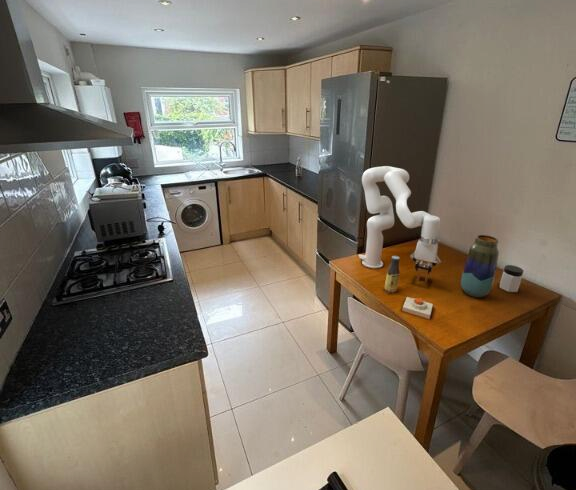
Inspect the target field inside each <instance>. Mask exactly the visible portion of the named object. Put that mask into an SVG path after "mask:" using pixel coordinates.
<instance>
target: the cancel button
mask: <svg viewBox="0 0 576 490" xmlns="http://www.w3.org/2000/svg"><path fill="white" fill-rule="evenodd" d="M423 301H424V299H423V298H421V297H415V303H416V304H418V305H422V304H423Z"/></svg>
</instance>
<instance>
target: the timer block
mask: <svg viewBox="0 0 576 490" xmlns="http://www.w3.org/2000/svg"><path fill="white" fill-rule="evenodd" d="M415 298H416V297H415ZM415 298H414V297H409V296H406V298H405V300H404V303H403V306H402V312H404V313H409V314H411V315H416V316H417V317H422V318H425V319H428V320H430V319H431V316H432V315H431V314H432V311H433V307H434V304H433V303H431V302H428V301H425V300H423V304H422V305H418V304H416V303H415Z"/></svg>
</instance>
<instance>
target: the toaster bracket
mask: <svg viewBox="0 0 576 490" xmlns="http://www.w3.org/2000/svg"><path fill="white" fill-rule="evenodd" d="M423 263H424V261H423V260H420V261H419V266H423ZM427 264H428V265H427V268H429V265H430V264H429V262H427ZM422 270H423V269H420V268H418V270H417V277H416V278H417V279H416V281H417V282H418V281H420V280H421V274H422ZM427 273H428V270H426V273H425V277H424V283H425V284H427V283H428V280H429V275H430V273H429V274H427Z"/></svg>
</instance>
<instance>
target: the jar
mask: <svg viewBox="0 0 576 490" xmlns="http://www.w3.org/2000/svg"><path fill="white" fill-rule="evenodd" d="M523 275H524V269H523V268H521V267H519V266H517V265H512V264H506V265H505V266H504V267H503V271H502V275H501V278H500V282H499V289H500V290H502V291H503V290H504V291H505V292H507V293H518V292H519V288H520V285H521V282H522V279H523Z"/></svg>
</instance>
